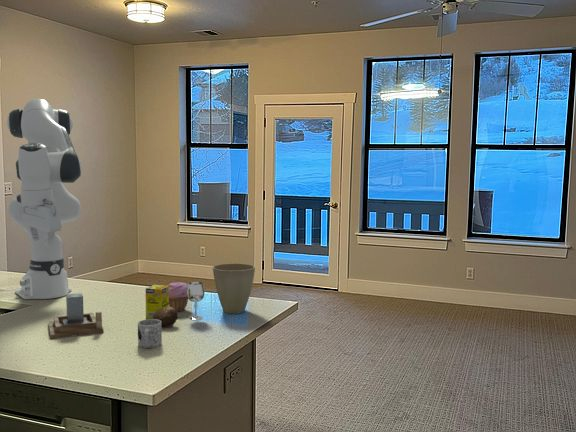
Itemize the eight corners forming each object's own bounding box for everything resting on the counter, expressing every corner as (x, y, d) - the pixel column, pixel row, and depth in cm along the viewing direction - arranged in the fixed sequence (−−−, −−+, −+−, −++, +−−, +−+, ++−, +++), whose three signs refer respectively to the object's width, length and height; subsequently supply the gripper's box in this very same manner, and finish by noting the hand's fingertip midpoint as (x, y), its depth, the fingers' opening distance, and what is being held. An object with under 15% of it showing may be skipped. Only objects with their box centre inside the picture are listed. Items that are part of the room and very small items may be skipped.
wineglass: (183, 318, 191) (183, 283, 190) (197, 314, 195) (197, 280, 194) (194, 321, 187) (194, 286, 186) (208, 318, 191) (207, 283, 190)
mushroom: (172, 310, 189) (167, 298, 184) (185, 323, 184) (180, 311, 180) (152, 324, 185) (146, 312, 181) (164, 338, 180) (159, 326, 176)
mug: (140, 341, 167) (140, 319, 166) (163, 341, 167) (163, 319, 166) (133, 352, 157) (133, 329, 156) (158, 352, 157) (157, 329, 156)
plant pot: (263, 311, 200) (263, 267, 198) (229, 319, 190) (229, 272, 188) (238, 303, 211) (238, 261, 209) (204, 310, 201) (204, 266, 200)
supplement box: (162, 322, 186) (161, 289, 185) (145, 320, 187) (144, 288, 186) (169, 317, 192) (169, 285, 191) (153, 315, 193) (152, 284, 192)
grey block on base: (62, 323, 179) (61, 293, 178) (86, 320, 182) (85, 291, 181) (64, 329, 173) (63, 299, 172) (88, 326, 176) (87, 296, 175)
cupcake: (161, 309, 202) (160, 281, 201) (182, 305, 208) (182, 278, 207) (173, 314, 195) (173, 286, 194) (195, 310, 201) (195, 282, 200)
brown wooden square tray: (48, 325, 181) (47, 306, 181) (97, 319, 188) (97, 301, 187) (50, 338, 168) (50, 318, 167) (103, 332, 174) (103, 312, 174)
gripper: (64, 200, 167) (69, 245, 169) (33, 193, 180) (38, 235, 183) (43, 203, 162) (48, 249, 165) (13, 196, 175) (18, 239, 178)
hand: (42, 242), depth 174 cm, fingers open, 8 cm apart
